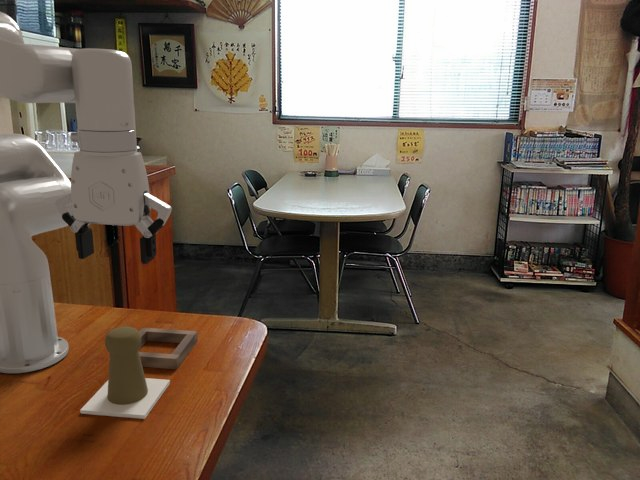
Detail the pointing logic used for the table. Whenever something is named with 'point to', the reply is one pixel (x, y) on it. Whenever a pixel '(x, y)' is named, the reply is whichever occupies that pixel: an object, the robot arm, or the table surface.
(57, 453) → the table surface
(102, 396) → the coaster
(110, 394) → the cork
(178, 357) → the holder
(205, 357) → the table surface
